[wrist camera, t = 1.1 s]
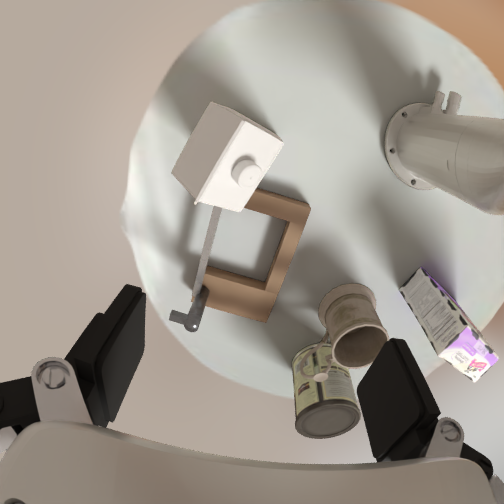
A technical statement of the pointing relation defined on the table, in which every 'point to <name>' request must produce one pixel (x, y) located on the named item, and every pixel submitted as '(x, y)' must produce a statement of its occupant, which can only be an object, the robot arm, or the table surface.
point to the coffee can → (323, 396)
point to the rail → (206, 249)
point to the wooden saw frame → (265, 293)
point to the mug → (349, 329)
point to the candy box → (448, 326)
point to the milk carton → (226, 158)
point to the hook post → (192, 312)
